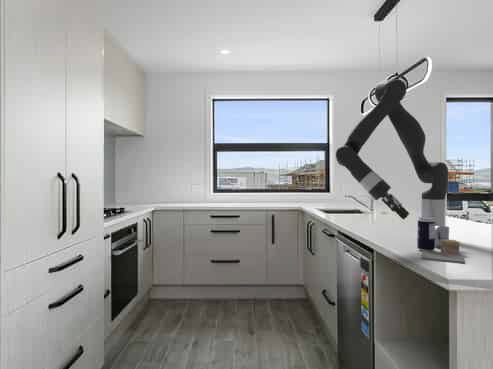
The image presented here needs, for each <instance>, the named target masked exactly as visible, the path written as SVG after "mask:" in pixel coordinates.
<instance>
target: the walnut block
mask: <svg viewBox="0 0 493 369" xmlns="http://www.w3.org/2000/svg"><path fill="white" fill-rule="evenodd" d="M440 252H443V253H454V254H460V242H459V241H457V240H456V239H449V240H441V249H440Z"/></svg>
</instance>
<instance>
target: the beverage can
mask: <svg viewBox="0 0 493 369" xmlns="http://www.w3.org/2000/svg"><path fill="white" fill-rule="evenodd" d="M416 239H417V240H416V242H417V244H416V245H417V246H416V247H417V249H418V250H419V251H420V250H421V252H422V251H433V252H434V250H435V249H436V248H435V220H434V218H431V217H421V216H419V217H418V219H417V238H416Z"/></svg>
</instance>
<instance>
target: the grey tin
mask: <svg viewBox="0 0 493 369" xmlns="http://www.w3.org/2000/svg"><path fill="white" fill-rule="evenodd" d="M441 240H450V227H449V226H447V225H445V226H435V249H438V250H441Z"/></svg>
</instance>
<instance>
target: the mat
mask: <svg viewBox="0 0 493 369" xmlns="http://www.w3.org/2000/svg"><path fill="white" fill-rule="evenodd" d="M420 257H421V260H428V261H439V262H446V263H456V264H465V260H464V256H463V254H461V253H459V254H454V253H443V252H441V251H434V250H433V251H421V256H420Z"/></svg>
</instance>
